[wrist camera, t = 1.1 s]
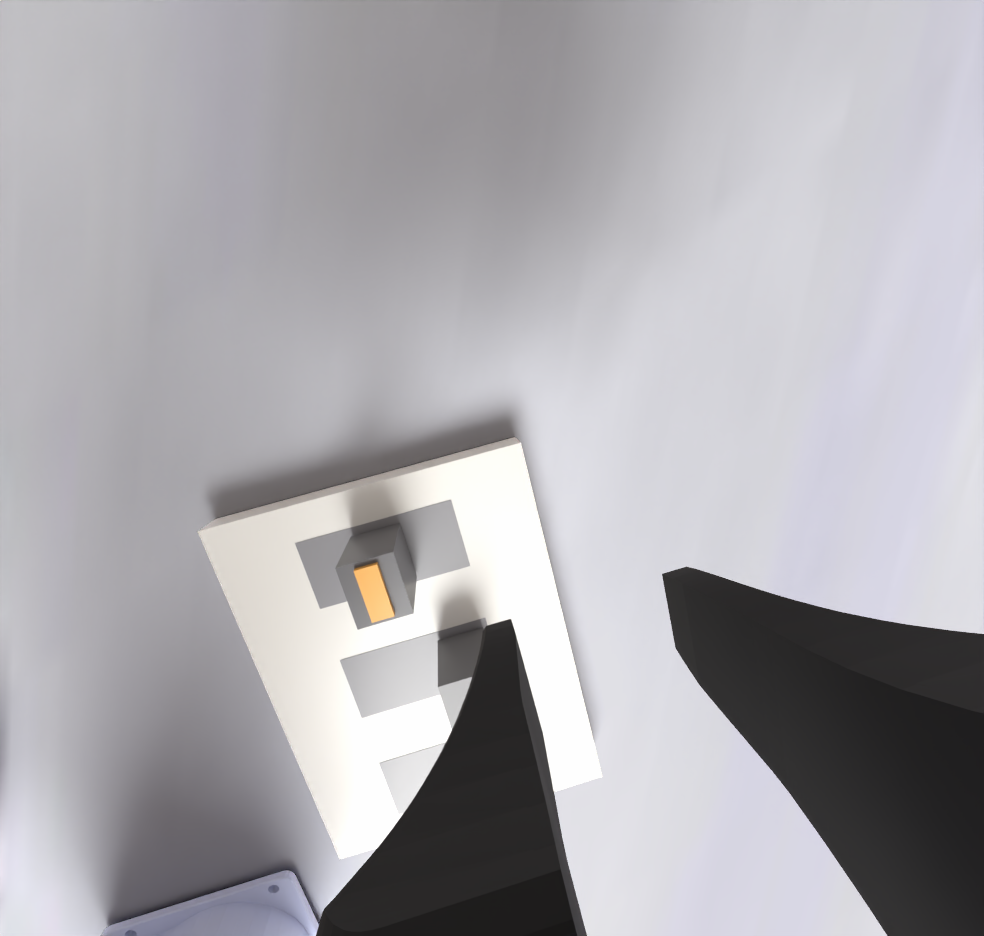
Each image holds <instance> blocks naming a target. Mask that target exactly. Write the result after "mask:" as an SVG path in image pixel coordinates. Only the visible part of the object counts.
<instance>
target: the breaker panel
mask: <svg viewBox="0 0 984 936" xmlns="http://www.w3.org/2000/svg"><path fill="white" fill-rule="evenodd" d="M397 523H400V525H401V528H402V531H403V534H404V537H405V540H406V543H407V547H408V550H409V553H410V556H411V559H412V562H413V565H414V568H415V571H416V575H417V582H416V592H415V603H414V614H410V615H407V616H403V617H400V618H396V619H393V620H389V621H386V622H383V623H379V624H376V625H372V626H369V627H365V628H362V629H359V630H358V629H357V627H356V624H355V621H354V618H353V616H352V613H351V610H350V608H349V605H348V602H347V599H346V597H345V594H344V591H343V588H342V586H341V583H340V580H339V577H338V575H337V572H336V569H335V568H336V566H337V564H338V561H339V559H340V557H341V555H342V553H343V551H344V549H345V547H346V545H347V543H348V541H349V539H350V537H351V536H354V535H358V534H362V533H365V532H369V531H372V530H376V529H379V528H383V527H387V526H390V525H394V524H397ZM197 532H198V534H199V537H200V539H201V541H202V543H203V546H204V548H205V550H206V553H207V555H208V557H209V560H210V562H211V564H212V566H213V569H214V571H215V573H216V576H217V578H218V580H219V583H220V585H221V587H222V590H223V592H224V594H225V596H226V599H227V601H228V603H229V606H230V608H231V610H232V613H233V615H234V617H235V619H236V622H237V624H238V626H239V629H240V631H241V633H242V636H243V638H244V640H245V643H246V645H247V647H248V649H249V652H250V654H251V656H252V659H253V661H254V663H255V666H256V668H257V670H258V673H259V675H260V677H261V679H262V682H263V684H264V686H265V689H266V691H267V693H268V696H269V698H270V700H271V702H272V705H273V707H274V709H275V712H276V714H277V716H278V719H279V721H280V723H281V726H282V728H283V730H284V732H285V735H286V737H287V739H288V742H289V744H290V746H291V749H292V751H293V753H294V755H295V758H296V760H297V762H298V765H299V767H300V769H301V772H302V774H303V776H304V779H305V781H306V783H307V785H308V788H309V790H310V792H311V795H312V797H313V799H314V802H315V804H316V806H317V809H318V811H319V813H320V815H321V818H322V820H323V822H324V825H325V827H326V829H327V832H328V834H329V836H330V838H331V841H332V843H333V845H334V848H335V850H336V852H337V855H338V857H339V859H340V860H341V859H344V858H347V857H350V856H353V855H356V854H360V853H363V852H366V851H369V850H372V849H375V848H378V847H379V845H380V844H381V843H382V842H383V840H384V839H385V838H386V836H387V835H388V834H389V832H390V831H391V830H392V829H393V827H394V826H395V824H396V823H397V822H398V820H399V819H400V817H401V816H402V815H403V813H404V812H405V810H406V809H407V808H408V806H409V805H410V803H411V802H412V800H413V799H414V797H415V796H416V794H417V792H418V791H419V789H420V788H421V786H422V785H423V783H424V781H425V779H426V778H427V776H428V774H429V772H430V771H431V769H432V767H433V766H434V764H435V762H436V760H437V759H438V757H439V755H440V753H441V751H442V749H443V747H444V745H445V743H446V741H447V739H448V737H449V735H450V733H451V731H452V728H453V726H454V724H455V722H456V720H457V717H458V715H459V712H460V710H461V707H462V704H463V702H464V699H465V697H466V694H467V691H468V689H469V686H470V683H471V679H472V676H473V673H474V669H475V666H476V663H477V659H478V655H479V651H480V646H481V640H482V632H483V630H484V628H485V627H486V626H488V625H491V624H494V623H498V622H501V621H504V620H508V619H511V620H512V623H513V626H514V630H515V633H516V637H517V640H518V644H519V648H520V651H521V655H522V659H523V662H524V666H525V670H526V673H527V677H528V680H529V684H530V688H531V691H532V695H533V699H534V702H535V706H536V710H537V713H538V717H539V721H540V724H541V728H542V731H543V736H544V741H545V747H546V752H547V758H548V763H549V768H550V774H551V779H552V785H553V790H554V792H556V791H559V790H562V789H565V788H568V787H571V786H575V785H578V784H581V783H584V782H587V781H590V780H594V779H597V778H600V777H602V773H601V769H600V764H599V760H598V756H597V752H596V748H595V744H594V740H593V736H592V732H591V728H590V724H589V719H588V715H587V711H586V707H585V703H584V699H583V695H582V691H581V687H580V683H579V678H578V674H577V670H576V666H575V662H574V658H573V654H572V650H571V646H570V642H569V638H568V633H567V629H566V625H565V621H564V617H563V613H562V609H561V605H560V601H559V597H558V593H557V588H556V584H555V580H554V576H553V572H552V568H551V564H550V560H549V556H548V552H547V548H546V543H545V539H544V535H543V531H542V527H541V523H540V519H539V515H538V511H537V507H536V503H535V498H534V494H533V490H532V486H531V482H530V478H529V474H528V470H527V466H526V462H525V458H524V453H523V449H522V445H521V442H520V441H519V440H518V439H517V438H516V437H513V438H509V439H505V440H502V441H498V442H494V443H491V444H487V445H483V446H480V447H476V448H473V449H469V450H465V451H462V452H458V453H454V454H451V455H447V456H443V457H440V458H436V459H432V460H429V461H425V462H421V463H418V464H414V465H410V466H407V467H403V468H400V469H396V470H392V471H389V472H385V473H381V474H378V475H374V476H370V477H367V478H363V479H359V480H356V481H352V482H348V483H345V484H341V485H337V486H334V487H330V488H327V489H323V490H319V491H316V492H312V493H308V494H305V495H301V496H297V497H294V498H290V499H286V500H283V501H279V502H275V503H272V504H268V505H264V506H261V507H257V508H254V509H250V510H246V511H243V512H239V513H235V514H232V515H228V516H224V517H221V518H217V519H214V520H213V521H211V522H210V523H209V524H207V525H206V526H204V527H203V528H202V529H200V530H199V531H197Z"/></svg>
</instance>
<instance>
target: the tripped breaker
mask: <svg viewBox="0 0 984 936" xmlns="http://www.w3.org/2000/svg"><path fill="white" fill-rule="evenodd" d="M335 569H336V572H337V575H338V577H339V580H340V583H341V586H342V588H343V591H344V594H345V597H346V599H347V602H348V605H349V608H350V610H351V613H352V616H353V618H354V621H355V624H356V627H357V629H358V630H359V629H362V628H365V627H369V626H372V625H376V624H379V623H383V622H386V621H389V620H393V619H396V618H400V617H403V616H407V615H410V614H414V603H415V592H416V582H417V575H416V571H415V568H414V565H413V562H412V559H411V556H410V553H409V550H408V547H407V543H406V540H405V537H404V534H403V531H402V528H401V525H400V523H397V524H394V525H390V526H387V527H383V528H379V529H376V530H372V531H369V532H365V533H362V534H358V535H354V536H351V537H350V539H349V541H348V543H347V545H346V547H345V549H344V551H343V553H342V555H341V557H340V559H339V561H338V564H337V566H336V568H335Z"/></svg>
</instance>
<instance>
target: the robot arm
mask: <svg viewBox="0 0 984 936" xmlns="http://www.w3.org/2000/svg"><path fill="white" fill-rule="evenodd" d="M662 576H663V581H664V587H665V592H666V598H667V603H668V609H669V614H670V620H671V625H672V631H673V636H674V642H675V647H676V649H677V651H678V653H679V654H680V656H681V657H682V659H683V660H684V662H685V664H686V665H687V667H688V668H689V670H690V671H691V673H692V674H693V676H694V677H695V679H696V680H697V682H698V683H699V685H700V686H701V687H702V688H703V690H704V691H705V692H706V693H707V694H708V696H709V697H710V698H711V699H712V700H713V702H714V703H715V704H716V705H717V706H718V708H719V709H720V710H721V711H722V712H723V714H724V715H725V716H726V717H727V718H728V719H729V721H730V722H731V723H732V724H733V725H734V726H735V728H736V729H737V730H738V731H739V732H740V734H741V735H742V736H743V737H744V738H745V739H746V741H747V742H748V743H749V744H750V745H751V746H752V748H753V749H754V750H755V751H756V752H757V753H758V755H759V756H760V757H761V758H762V759H763V761H764V762H765V763H766V764H767V765H768V766H769V768H770V769H771V770H772V771H773V772H774V774H775V775H776V776H777V778H778V779H779V780H780V781H781V783H782V784H783V785H784V786H785V788H786V789H787V790H788V791H789V793H790V794H791V796H792V797H793V798H794V800H795V801H796V803H797V804H798V805H799V807H800V808H801V810H802V811H803V812H804V814H805V815H806V817H807V818H808V819H809V821H810V822H811V824H812V825H813V827H814V828H815V829H816V831H817V832H818V834H819V835H820V836H821V838H822V839H823V841H824V842H825V843H826V845H827V846H828V848H829V849H830V851H831V852H832V854H833V855H834V857H835V858H836V860H837V861H838V862H839V864H840V865H841V867H842V868H843V870H844V871H845V873H846V874H847V876H848V877H849V879H850V880H851V882H852V883H853V884H854V886H855V887H856V889H857V890H858V892H859V893H860V895H861V896H862V898H863V899H864V901H865V902H866V904H867V905H868V907H869V908H870V910H871V911H872V913H873V914H874V916H875V917H876V919H877V920H878V922H879V923H880V925H881V926H882V928H883V929H884V931H885V932H886V934H887V936H984V634H977V633H967V632H957V631H949V630H942V629H935V628H927V627H920V626H913V625H906V624H900V623H894V622H888V621H882V620H877V619H872V618H867V617H862V616H857V615H852V614H847V613H843V612H838V611H834V610H830V609H826V608H822V607H818V606H814V605H810V604H807V603H803V602H799V601H795V600H792V599H788V598H785V597H781V596H778V595H775V594H771V593H768V592H765V591H762V590H759V589H756V588H752V587H749V586H746V585H743V584H740V583H737V582H734V581H731V580H728V579H725V578H722V577H719V576H716V575H713V574H710V573H707V572H704V571H700V570H697V569H693V568H689V567H684V568H681V569H678V570H674V571H671V572H667V573H664V574H662ZM101 936H587V934H586V931H585V927H584V923H583V919H582V916H581V912H580V908H579V904H578V900H577V897H576V893H575V889H574V885H573V882H572V878H571V874H570V870H569V866H568V862H567V858H566V853H565V849H564V844H563V840H562V834H561V829H560V823H559V818H558V812H557V807H556V801H555V796H554V790H553V785H552V779H551V774H550V768H549V763H548V758H547V752H546V747H545V741H544V736H543V731H542V728H541V724H540V721H539V717H538V713H537V710H536V706H535V702H534V699H533V695H532V691H531V688H530V684H529V680H528V677H527V673H526V670H525V666H524V662H523V659H522V655H521V651H520V648H519V644H518V640H517V637H516V633H515V630H514V626H513V623H512V620H511V619H508V620H504V621H501V622H498V623H494V624H491V625H488V626H486V627H485V628H484V630H483V632H482V640H481V646H480V651H479V655H478V659H477V663H476V666H475V669H474V673H473V676H472V679H471V683H470V686H469V689H468V691H467V694H466V697H465V699H464V702H463V704H462V707H461V710H460V712H459V715H458V717H457V720H456V722H455V724H454V726H453V728H452V731H451V733H450V735H449V737H448V739H447V741H446V743H445V745H444V747H443V749H442V751H441V753H440V755H439V757H438V759H437V760H436V762H435V764H434V766H433V767H432V769H431V771H430V772H429V774H428V776H427V778H426V779H425V781H424V783H423V785H422V786H421V788H420V789H419V791H418V792H417V794H416V796H415V797H414V799H413V800H412V802H411V803H410V805H409V806H408V808H407V809H406V810H405V812H404V813H403V815H402V816H401V817H400V819H399V820H398V822H397V823H396V824H395V826H394V827H393V829H392V830H391V831H390V832H389V834H388V835H387V836H386V838H385V839H384V840H383V842H382V843H381V844H380V845H379V847H378V848H377V849H376V850H375V852H374V853H373V854H372V855H371V857H370V858H369V859H368V860H367V861H366V862H365V864H364V865H363V866H362V867H361V868H360V869H359V870H358V872H357V873H356V874H355V875H354V876H353V877H352V879H351V880H350V881H349V882H348V883H347V884H346V885H345V887H344V888H343V889H342V890H341V891H340V892H339V894H338V895H337V896H336V897H335V898H334V899H333V900H332V901H331V902H330V903H329V905H328V906H327V907H326V908H325V909H324V911H323V913H322V917H321V920H320V923H319V924H318V922H317V920H316V918H315V916H314V914H313V911H312V909H311V907H310V905H309V903H308V901H307V899H306V897H305V894H304V892H303V890H302V888H301V886H300V884H299V882H298V879H297V877H296V875H295V874H294V873H293V872H291V871H288V870H285V871H281V872H277V873H274V874H271V875H268V876H265V877H262V878H258V879H255V880H252V881H249V882H246V883H243V884H239V885H236V886H233V887H230V888H227V889H224V890H220V891H217V892H214V893H211V894H208V895H205V896H201V897H198V898H195V899H192V900H189V901H186V902H182V903H179V904H176V905H173V906H170V907H167V908H163V909H160V910H157V911H154V912H151V913H148V914H144V915H141V916H138V917H135V918H132V919H129V920H125V921H122V922H119V923H116V924H113V925H110V926H108V927H106V928H105V930H104V931H103V933H102V935H101Z"/></svg>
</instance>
